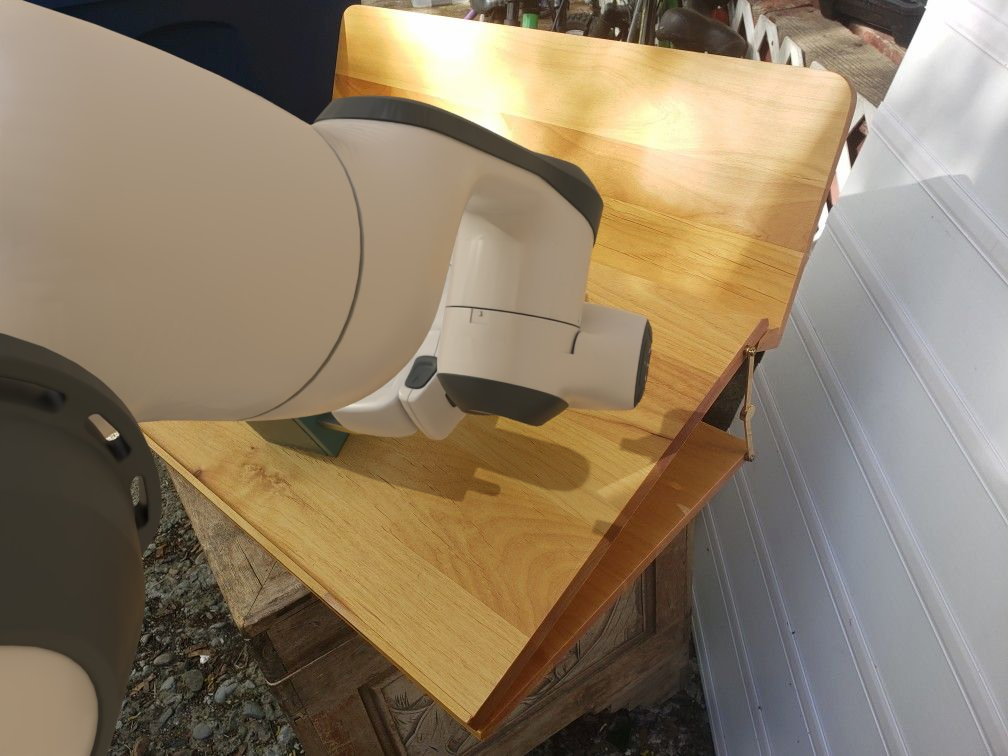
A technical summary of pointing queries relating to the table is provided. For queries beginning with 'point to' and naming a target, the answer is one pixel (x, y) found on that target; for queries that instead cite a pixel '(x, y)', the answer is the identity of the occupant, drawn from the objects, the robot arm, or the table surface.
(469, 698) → the table surface
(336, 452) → the door
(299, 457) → the table surface
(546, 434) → the table surface
